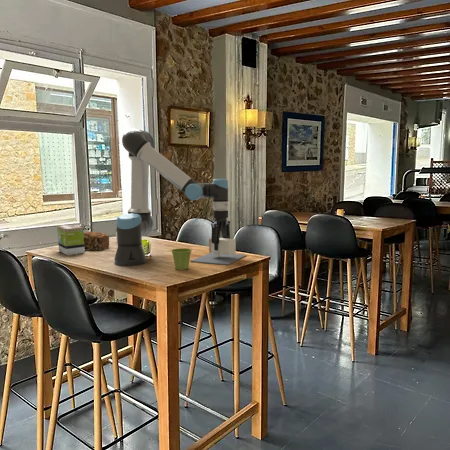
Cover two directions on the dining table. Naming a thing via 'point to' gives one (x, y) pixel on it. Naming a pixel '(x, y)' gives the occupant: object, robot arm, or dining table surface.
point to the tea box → (70, 239)
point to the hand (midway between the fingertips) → (221, 255)
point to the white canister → (224, 246)
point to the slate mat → (218, 259)
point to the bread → (95, 240)
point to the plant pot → (181, 258)
